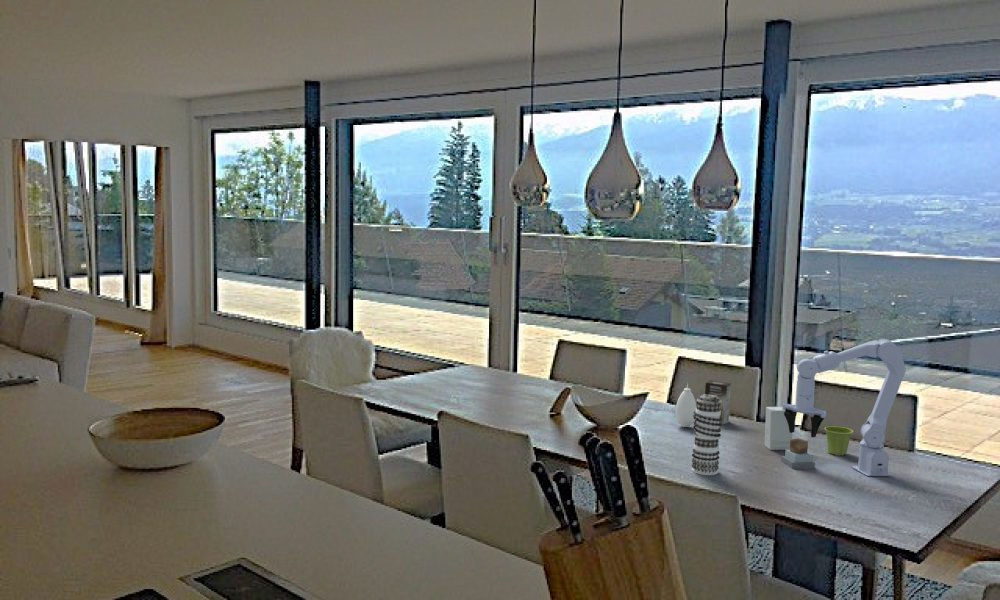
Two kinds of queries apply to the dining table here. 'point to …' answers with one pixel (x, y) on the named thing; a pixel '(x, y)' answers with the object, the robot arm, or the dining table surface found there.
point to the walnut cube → (798, 446)
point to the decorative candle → (706, 435)
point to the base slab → (797, 463)
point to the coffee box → (720, 396)
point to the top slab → (799, 456)
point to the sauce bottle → (686, 408)
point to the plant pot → (838, 439)
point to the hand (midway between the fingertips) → (802, 434)
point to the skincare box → (777, 429)
